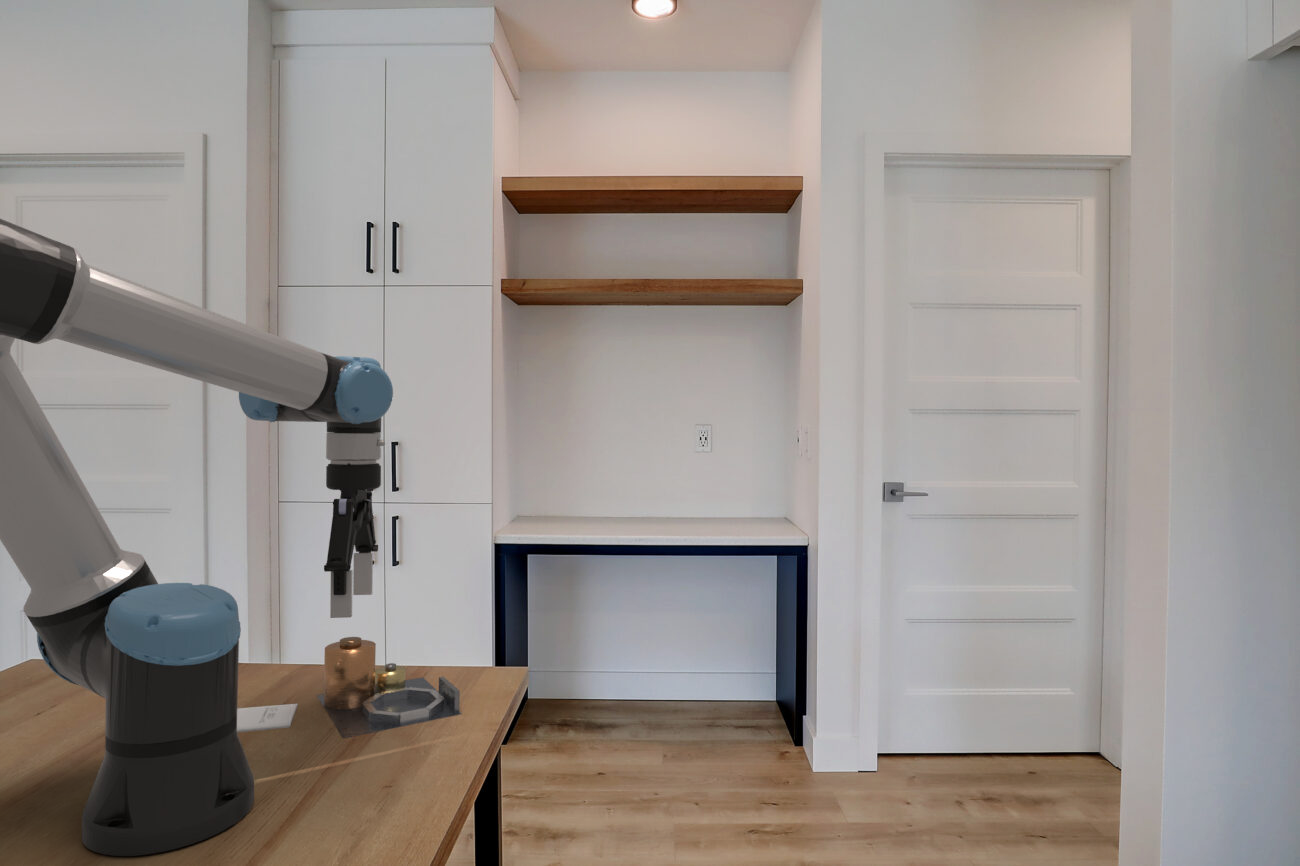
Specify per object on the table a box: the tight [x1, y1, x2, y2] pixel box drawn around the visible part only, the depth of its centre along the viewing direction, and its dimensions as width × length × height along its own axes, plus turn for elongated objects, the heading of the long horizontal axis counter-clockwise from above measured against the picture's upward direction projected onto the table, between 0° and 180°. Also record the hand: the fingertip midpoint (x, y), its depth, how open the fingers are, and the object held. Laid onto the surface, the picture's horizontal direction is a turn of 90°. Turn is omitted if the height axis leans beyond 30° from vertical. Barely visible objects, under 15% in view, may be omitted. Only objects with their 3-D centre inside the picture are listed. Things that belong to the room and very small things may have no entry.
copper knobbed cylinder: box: [323, 636, 377, 709], centre depth 110 cm, size 7×7×9 cm
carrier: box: [316, 662, 463, 739], centre depth 109 cm, size 18×16×4 cm
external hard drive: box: [237, 703, 299, 733], centre depth 102 cm, size 2×8×12 cm
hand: (352, 605), depth 110 cm, fingers open, 13 cm apart
